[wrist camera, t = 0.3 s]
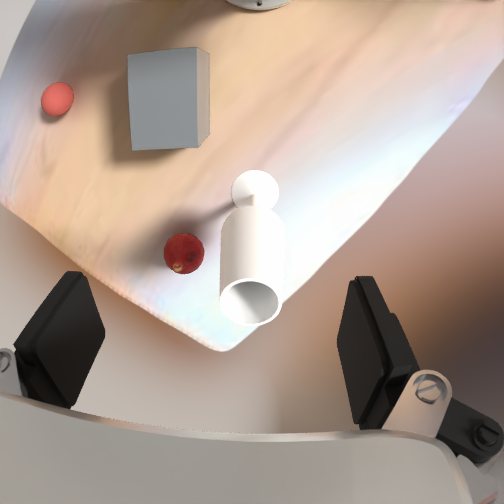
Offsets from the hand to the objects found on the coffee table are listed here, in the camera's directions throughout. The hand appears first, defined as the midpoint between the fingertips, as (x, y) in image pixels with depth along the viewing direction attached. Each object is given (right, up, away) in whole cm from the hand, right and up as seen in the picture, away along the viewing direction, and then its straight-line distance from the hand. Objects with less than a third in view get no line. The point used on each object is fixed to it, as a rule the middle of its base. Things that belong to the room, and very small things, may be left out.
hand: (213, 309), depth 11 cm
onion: (-8, +4, +38) cm, 40 cm away
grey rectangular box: (-8, +23, +27) cm, 36 cm away
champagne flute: (+2, +10, +34) cm, 36 cm away
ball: (-26, +23, +24) cm, 42 cm away
